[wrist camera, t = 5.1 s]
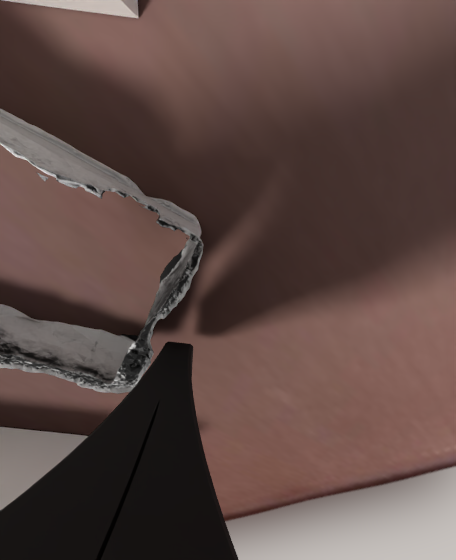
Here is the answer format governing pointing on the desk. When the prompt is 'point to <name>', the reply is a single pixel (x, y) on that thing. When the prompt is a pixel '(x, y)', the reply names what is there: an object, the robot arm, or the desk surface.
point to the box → (30, 443)
